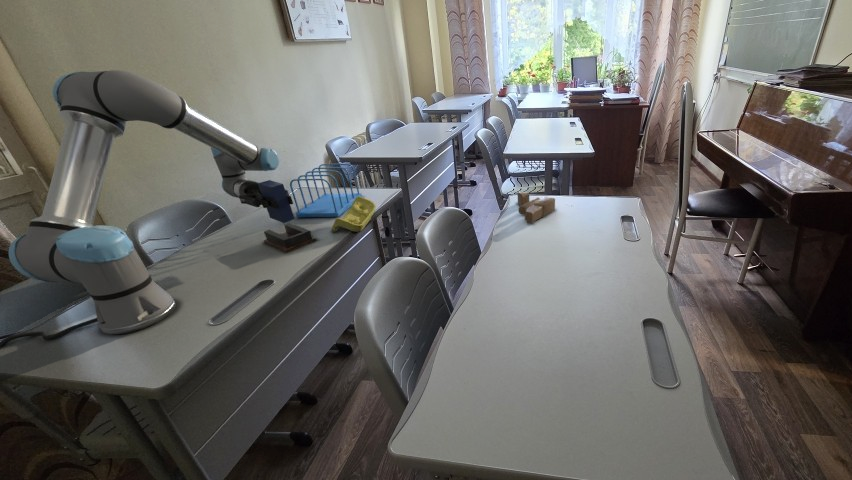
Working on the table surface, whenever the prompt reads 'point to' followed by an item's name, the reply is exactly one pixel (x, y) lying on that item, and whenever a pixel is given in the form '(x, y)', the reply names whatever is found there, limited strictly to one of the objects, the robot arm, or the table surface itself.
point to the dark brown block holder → (289, 238)
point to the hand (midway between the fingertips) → (284, 202)
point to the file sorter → (326, 196)
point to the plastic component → (356, 215)
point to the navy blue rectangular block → (279, 194)
